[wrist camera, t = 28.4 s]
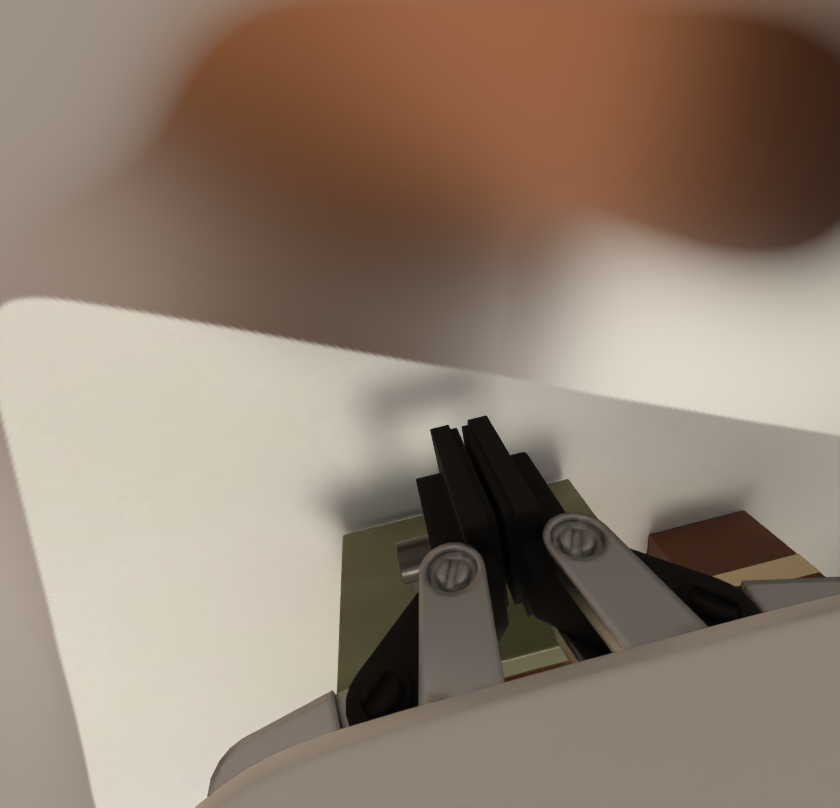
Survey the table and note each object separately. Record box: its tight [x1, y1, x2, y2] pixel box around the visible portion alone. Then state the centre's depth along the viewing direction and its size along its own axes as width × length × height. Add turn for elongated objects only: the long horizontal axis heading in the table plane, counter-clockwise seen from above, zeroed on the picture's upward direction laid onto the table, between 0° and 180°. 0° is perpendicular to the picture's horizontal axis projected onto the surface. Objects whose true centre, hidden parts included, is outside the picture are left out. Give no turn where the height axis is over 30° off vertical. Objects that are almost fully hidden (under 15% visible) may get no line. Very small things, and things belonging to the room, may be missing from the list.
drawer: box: [337, 479, 597, 694], centre depth 23 cm, size 23×13×9 cm, turn 10°
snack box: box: [648, 511, 825, 586], centre depth 26 cm, size 4×7×7 cm, turn 100°
